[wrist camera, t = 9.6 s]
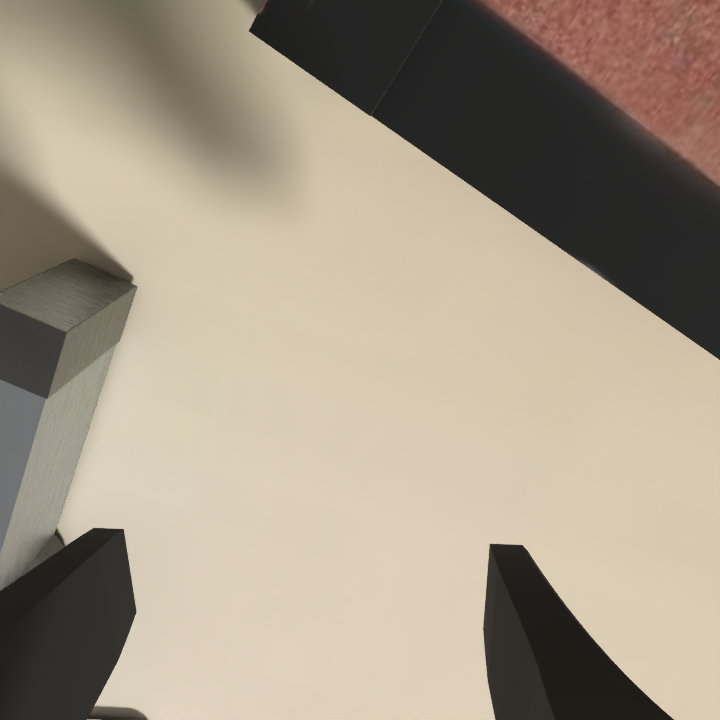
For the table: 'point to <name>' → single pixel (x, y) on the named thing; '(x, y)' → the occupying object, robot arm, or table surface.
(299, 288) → the table surface
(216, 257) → the table surface
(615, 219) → the book
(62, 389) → the crank
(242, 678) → the table surface
